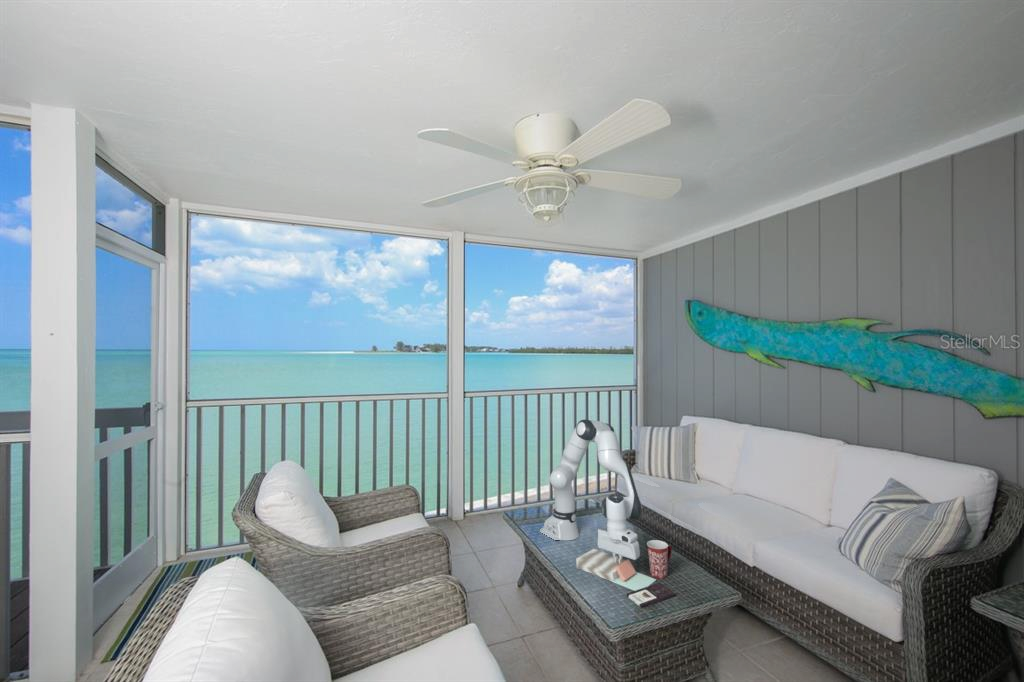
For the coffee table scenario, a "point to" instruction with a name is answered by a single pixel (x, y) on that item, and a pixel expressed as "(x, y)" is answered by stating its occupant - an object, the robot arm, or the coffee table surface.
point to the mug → (658, 557)
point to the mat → (635, 581)
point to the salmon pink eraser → (625, 570)
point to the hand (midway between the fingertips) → (618, 563)
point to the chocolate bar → (651, 595)
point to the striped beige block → (599, 564)
